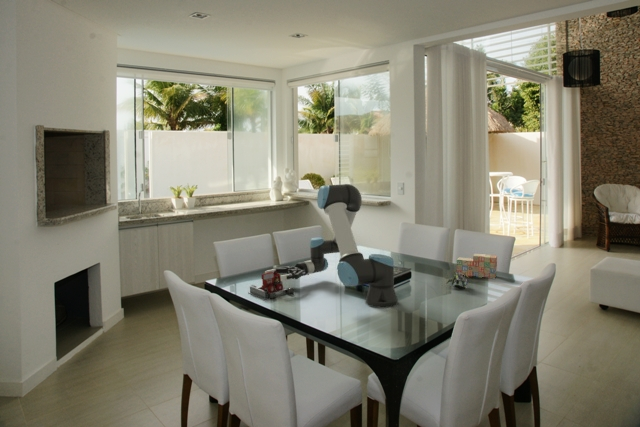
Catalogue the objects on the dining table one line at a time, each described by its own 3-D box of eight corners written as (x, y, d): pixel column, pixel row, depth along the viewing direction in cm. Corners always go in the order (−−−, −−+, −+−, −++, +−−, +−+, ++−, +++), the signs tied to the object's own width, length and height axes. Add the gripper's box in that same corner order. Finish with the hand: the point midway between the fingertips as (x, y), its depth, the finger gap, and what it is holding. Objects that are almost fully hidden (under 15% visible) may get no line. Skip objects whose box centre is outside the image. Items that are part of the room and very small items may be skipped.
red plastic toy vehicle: (286, 289, 246) (285, 270, 245) (266, 295, 238) (266, 275, 237) (278, 287, 252) (277, 268, 250) (259, 292, 243) (258, 272, 242)
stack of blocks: (456, 275, 270) (456, 254, 269) (458, 272, 276) (458, 252, 274) (495, 279, 261) (496, 257, 259) (496, 276, 266) (497, 255, 265)
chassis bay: (295, 292, 243) (295, 286, 242) (267, 300, 231) (266, 293, 231) (273, 285, 258) (273, 278, 257) (245, 292, 246) (245, 285, 245)
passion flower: (464, 298, 245) (471, 284, 237) (444, 294, 246) (450, 280, 238) (463, 281, 253) (470, 267, 245) (443, 278, 254) (449, 263, 246)
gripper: (319, 279, 250) (288, 287, 236) (290, 271, 268) (259, 278, 254) (319, 265, 249) (287, 273, 235) (289, 258, 267) (259, 265, 253)
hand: (272, 276), depth 244 cm, fingers open, 13 cm apart
